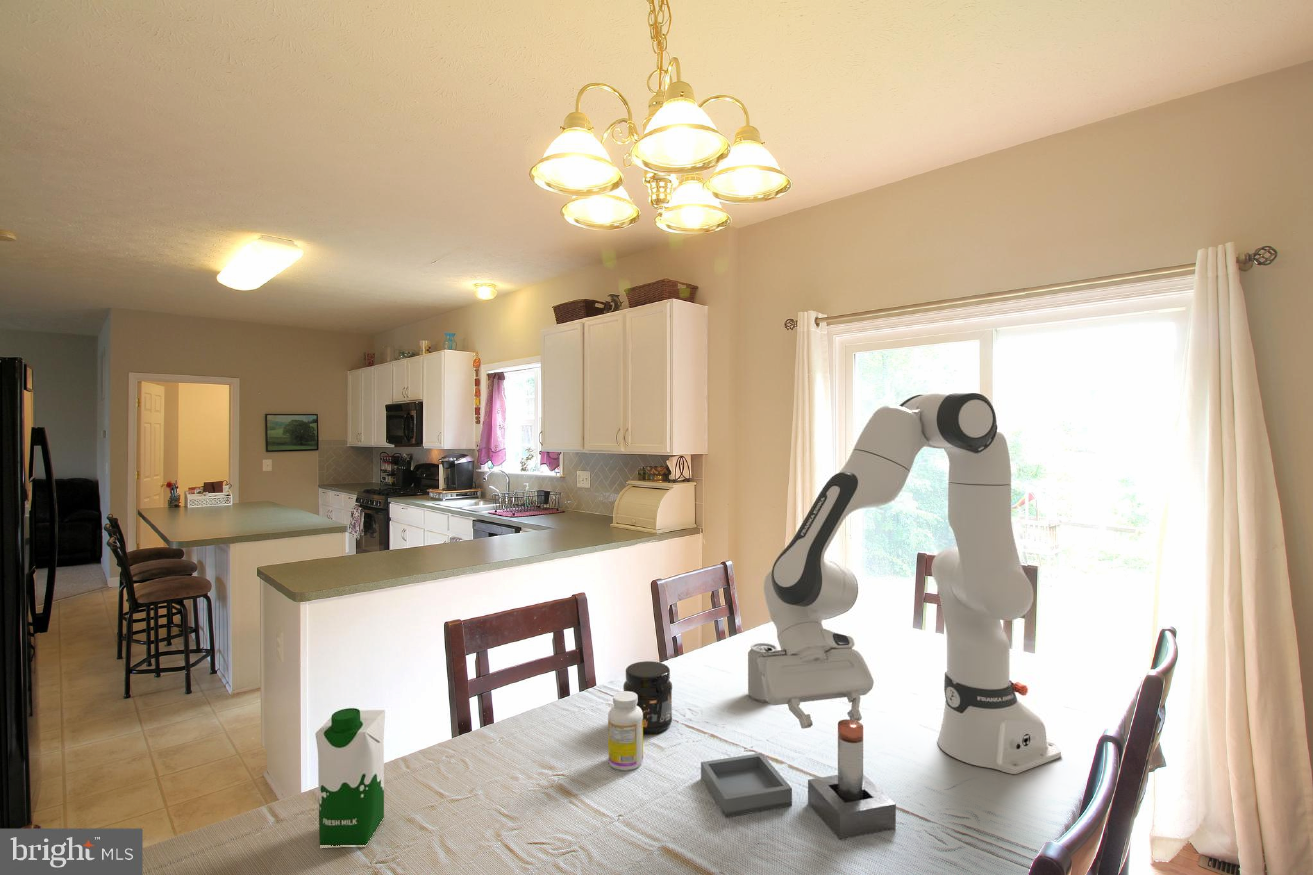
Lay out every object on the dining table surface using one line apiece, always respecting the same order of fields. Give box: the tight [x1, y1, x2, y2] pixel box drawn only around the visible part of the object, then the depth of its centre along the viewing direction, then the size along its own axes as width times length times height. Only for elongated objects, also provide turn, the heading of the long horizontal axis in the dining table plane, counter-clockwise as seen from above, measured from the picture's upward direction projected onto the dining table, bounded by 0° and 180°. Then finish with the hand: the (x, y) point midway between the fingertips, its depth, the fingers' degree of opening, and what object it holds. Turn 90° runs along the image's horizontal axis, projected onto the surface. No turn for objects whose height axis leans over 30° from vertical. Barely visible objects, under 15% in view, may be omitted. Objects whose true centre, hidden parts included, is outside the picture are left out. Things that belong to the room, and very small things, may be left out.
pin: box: [837, 718, 864, 803], centre depth 104 cm, size 4×4×15 cm
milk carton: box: [314, 707, 386, 846], centre depth 100 cm, size 9×9×20 cm
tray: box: [700, 752, 793, 818], centre depth 111 cm, size 12×12×3 cm
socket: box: [807, 773, 897, 841], centre depth 104 cm, size 10×10×4 cm
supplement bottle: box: [607, 690, 644, 771], centre depth 121 cm, size 7×7×13 cm
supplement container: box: [622, 660, 673, 735], centre depth 136 cm, size 10×10×12 cm
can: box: [747, 642, 778, 703], centre depth 150 cm, size 8×8×12 cm
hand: (832, 723), depth 109 cm, fingers open, 8 cm apart
